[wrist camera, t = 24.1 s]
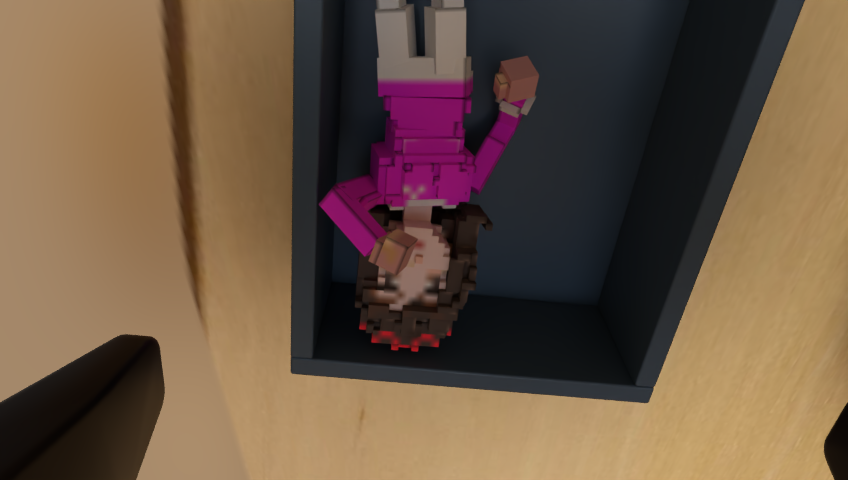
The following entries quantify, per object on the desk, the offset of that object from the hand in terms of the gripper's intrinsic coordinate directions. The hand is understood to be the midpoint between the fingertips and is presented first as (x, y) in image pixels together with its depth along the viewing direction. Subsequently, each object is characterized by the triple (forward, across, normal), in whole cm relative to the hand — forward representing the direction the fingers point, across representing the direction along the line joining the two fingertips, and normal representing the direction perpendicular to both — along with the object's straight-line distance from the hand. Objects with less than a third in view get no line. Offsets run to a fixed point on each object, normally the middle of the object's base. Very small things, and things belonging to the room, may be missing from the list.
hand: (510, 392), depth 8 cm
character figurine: (+11, +1, -1) cm, 11 cm away
